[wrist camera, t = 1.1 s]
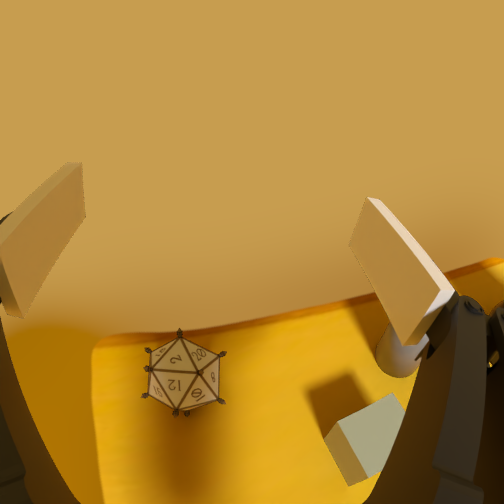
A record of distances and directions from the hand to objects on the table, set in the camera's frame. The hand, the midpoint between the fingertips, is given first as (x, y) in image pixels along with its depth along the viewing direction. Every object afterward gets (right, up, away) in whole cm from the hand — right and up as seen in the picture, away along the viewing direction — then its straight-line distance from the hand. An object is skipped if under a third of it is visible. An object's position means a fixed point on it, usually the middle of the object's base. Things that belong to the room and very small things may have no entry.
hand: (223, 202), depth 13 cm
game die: (-5, -17, +17) cm, 25 cm away
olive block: (+12, -22, +11) cm, 27 cm away
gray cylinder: (+19, -15, +20) cm, 31 cm away
